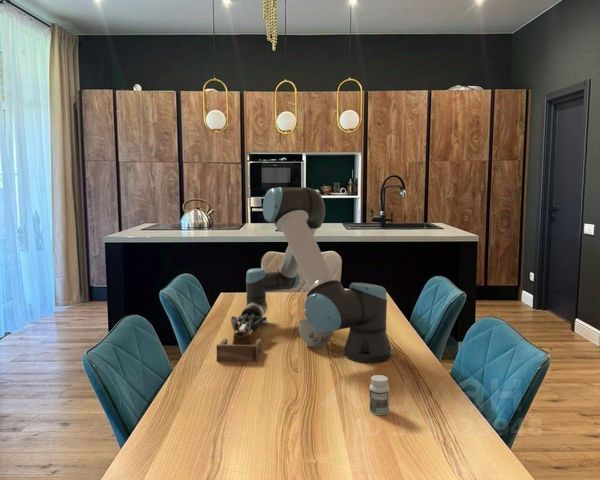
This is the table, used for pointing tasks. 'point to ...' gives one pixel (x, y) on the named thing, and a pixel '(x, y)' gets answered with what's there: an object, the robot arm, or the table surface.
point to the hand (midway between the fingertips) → (241, 333)
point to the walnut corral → (238, 352)
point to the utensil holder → (241, 337)
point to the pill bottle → (379, 395)
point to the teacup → (313, 334)
